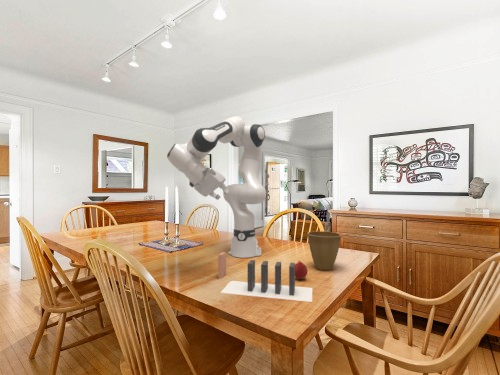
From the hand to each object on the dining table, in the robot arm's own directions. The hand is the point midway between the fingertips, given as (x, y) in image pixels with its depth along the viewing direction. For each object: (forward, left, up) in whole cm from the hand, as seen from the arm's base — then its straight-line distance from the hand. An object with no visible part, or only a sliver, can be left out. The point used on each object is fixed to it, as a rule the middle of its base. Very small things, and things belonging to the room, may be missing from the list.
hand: (223, 195), depth 117 cm
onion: (+2, +34, -34) cm, 48 cm away
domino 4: (+16, +32, -34) cm, 49 cm away
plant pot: (-16, +43, -34) cm, 58 cm away
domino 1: (+16, +16, -34) cm, 41 cm away
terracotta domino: (+6, +2, -34) cm, 35 cm away
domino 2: (+16, +22, -34) cm, 43 cm away
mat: (+16, +23, -34) cm, 44 cm away
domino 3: (+16, +26, -34) cm, 46 cm away
